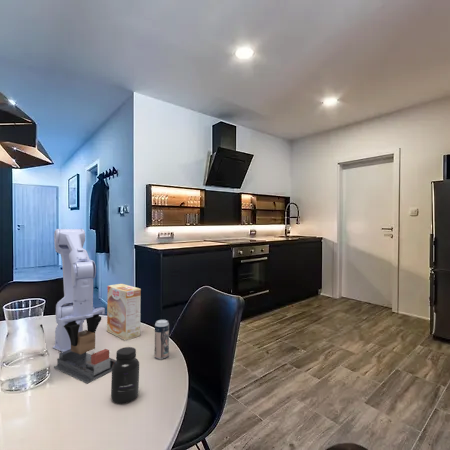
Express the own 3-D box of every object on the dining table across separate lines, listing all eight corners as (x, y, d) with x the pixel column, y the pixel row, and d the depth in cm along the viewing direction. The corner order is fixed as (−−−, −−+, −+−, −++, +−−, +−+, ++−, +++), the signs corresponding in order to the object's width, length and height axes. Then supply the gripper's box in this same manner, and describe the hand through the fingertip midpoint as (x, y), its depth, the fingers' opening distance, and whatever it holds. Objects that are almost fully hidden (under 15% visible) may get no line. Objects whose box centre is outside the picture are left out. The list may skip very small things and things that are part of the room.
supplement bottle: (122, 408, 69) (123, 359, 69) (105, 399, 72) (106, 352, 72) (144, 394, 75) (145, 348, 75) (127, 386, 78) (127, 343, 78)
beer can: (165, 360, 94) (165, 324, 94) (152, 358, 95) (152, 323, 95) (170, 354, 98) (171, 319, 98) (158, 352, 99) (158, 318, 99)
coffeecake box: (106, 331, 119) (106, 285, 119) (121, 327, 124) (122, 283, 124) (124, 341, 109) (125, 290, 109) (140, 335, 115) (141, 288, 115)
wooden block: (70, 350, 89) (71, 332, 89) (85, 345, 93) (85, 328, 93) (80, 354, 86) (80, 336, 86) (95, 348, 90) (95, 331, 90)
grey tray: (54, 367, 88) (54, 355, 88) (86, 354, 97) (87, 342, 97) (87, 383, 79) (87, 369, 79) (119, 367, 89) (119, 354, 89)
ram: (85, 371, 84) (85, 353, 84) (102, 364, 89) (102, 346, 89) (93, 375, 82) (94, 356, 82) (110, 367, 87) (110, 349, 87)
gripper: (67, 306, 82) (67, 353, 81) (110, 296, 94) (110, 337, 94) (54, 303, 85) (53, 348, 85) (97, 293, 98) (97, 332, 97)
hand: (82, 342), depth 90 cm, fingers closed on wooden block, 5 cm apart
